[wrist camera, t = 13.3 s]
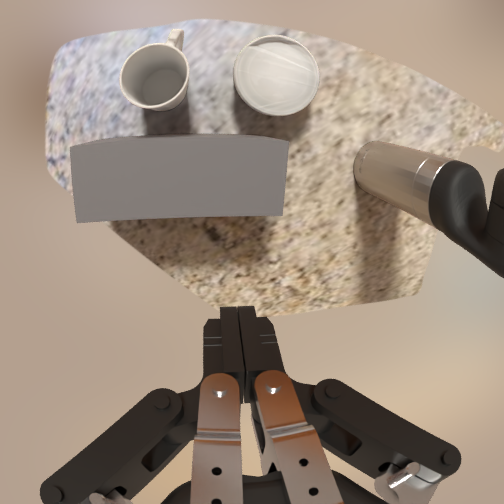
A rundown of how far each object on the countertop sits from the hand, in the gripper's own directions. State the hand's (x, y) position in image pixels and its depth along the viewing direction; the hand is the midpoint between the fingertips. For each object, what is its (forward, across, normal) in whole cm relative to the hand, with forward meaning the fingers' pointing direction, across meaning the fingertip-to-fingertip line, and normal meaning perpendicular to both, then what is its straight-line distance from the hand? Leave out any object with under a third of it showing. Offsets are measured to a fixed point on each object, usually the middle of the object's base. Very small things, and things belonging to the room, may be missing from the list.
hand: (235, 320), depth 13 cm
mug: (+30, +8, -13) cm, 34 cm away
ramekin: (+32, -6, -13) cm, 35 cm away
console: (+30, +6, -1) cm, 30 cm away
